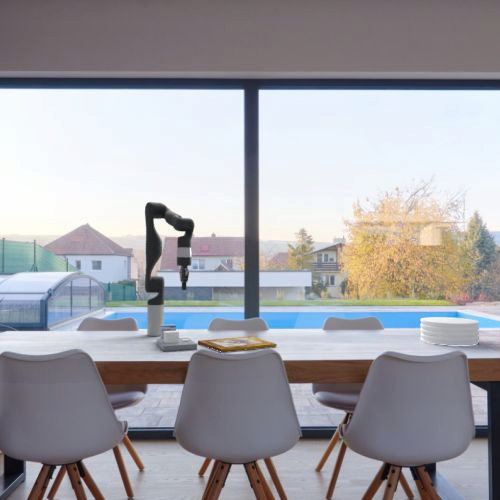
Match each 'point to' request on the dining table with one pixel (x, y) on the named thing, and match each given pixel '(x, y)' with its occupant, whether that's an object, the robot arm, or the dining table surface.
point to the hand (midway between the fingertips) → (184, 290)
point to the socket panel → (177, 345)
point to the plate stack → (449, 330)
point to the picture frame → (236, 343)
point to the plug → (171, 336)
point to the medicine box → (166, 329)
